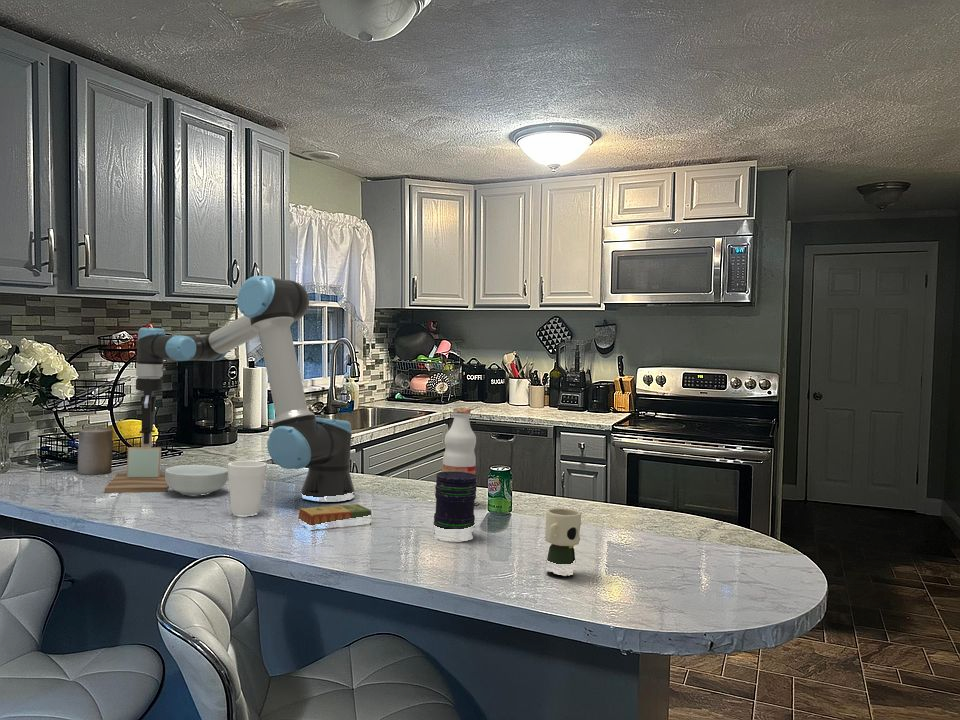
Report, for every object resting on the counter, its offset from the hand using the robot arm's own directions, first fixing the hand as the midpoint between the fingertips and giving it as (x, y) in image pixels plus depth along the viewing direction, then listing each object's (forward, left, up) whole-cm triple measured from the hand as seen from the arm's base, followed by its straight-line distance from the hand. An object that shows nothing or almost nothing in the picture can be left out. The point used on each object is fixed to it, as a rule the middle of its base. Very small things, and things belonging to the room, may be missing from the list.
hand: (146, 453), depth 221 cm
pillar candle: (+12, +16, -8) cm, 22 cm away
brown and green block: (-62, -50, -8) cm, 80 cm away
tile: (-4, 0, -7) cm, 8 cm away
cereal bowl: (-23, -16, -8) cm, 29 cm away
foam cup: (-50, -29, -8) cm, 58 cm away
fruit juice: (-46, -87, -8) cm, 99 cm away
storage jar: (-78, -76, -8) cm, 110 cm away
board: (-8, 0, -8) cm, 11 cm away
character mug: (-109, -90, -8) cm, 142 cm away
